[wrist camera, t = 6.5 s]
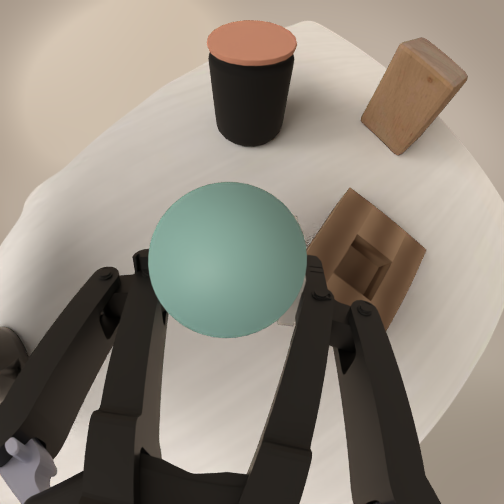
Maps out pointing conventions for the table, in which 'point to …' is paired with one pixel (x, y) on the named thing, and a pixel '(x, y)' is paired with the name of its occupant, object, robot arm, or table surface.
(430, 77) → the wooden block
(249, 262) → the pin
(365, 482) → the robot arm
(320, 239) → the socket block
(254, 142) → the coffee jar
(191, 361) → the table surface
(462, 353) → the table surface
